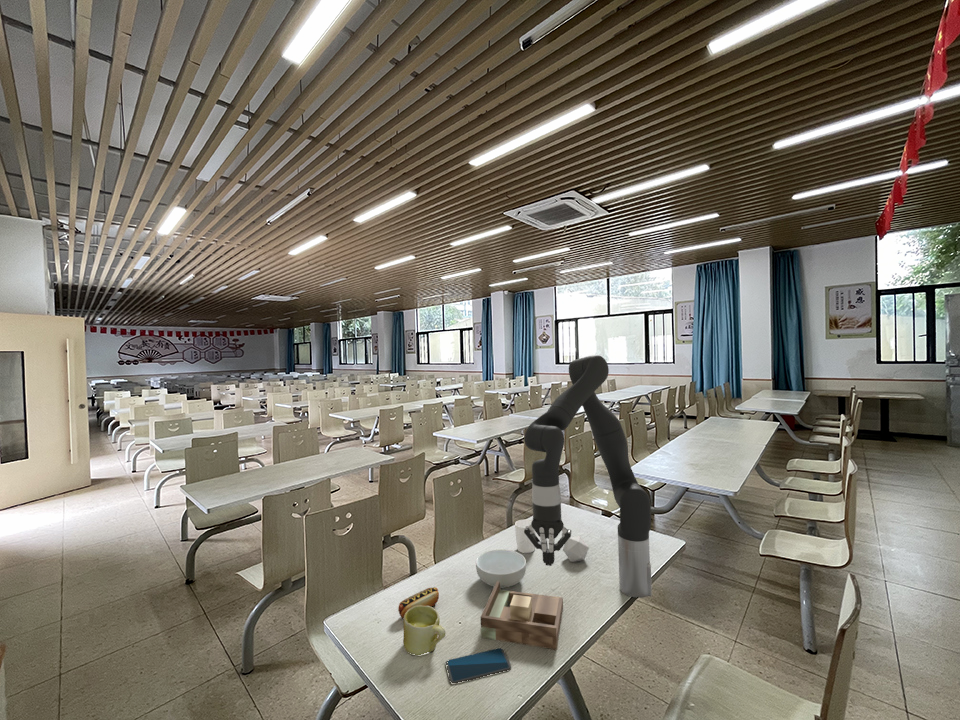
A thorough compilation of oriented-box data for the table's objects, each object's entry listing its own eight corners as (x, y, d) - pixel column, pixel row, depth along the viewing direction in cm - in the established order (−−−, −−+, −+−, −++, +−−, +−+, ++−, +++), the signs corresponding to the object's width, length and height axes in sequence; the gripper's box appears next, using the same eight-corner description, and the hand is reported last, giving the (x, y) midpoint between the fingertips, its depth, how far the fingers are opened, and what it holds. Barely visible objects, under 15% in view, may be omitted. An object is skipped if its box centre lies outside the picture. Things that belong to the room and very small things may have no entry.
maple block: (532, 614, 116) (531, 596, 116) (529, 626, 111) (528, 607, 111) (514, 612, 118) (513, 594, 118) (510, 623, 113) (509, 605, 113)
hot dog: (443, 605, 127) (442, 589, 127) (405, 626, 118) (404, 608, 118) (433, 598, 131) (432, 583, 131) (396, 618, 122) (395, 601, 122)
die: (586, 568, 146) (595, 541, 150) (564, 557, 146) (573, 530, 150) (577, 566, 154) (586, 540, 158) (556, 555, 154) (565, 530, 158)
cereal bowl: (520, 599, 129) (519, 577, 128) (469, 591, 134) (468, 570, 134) (531, 571, 145) (530, 551, 145) (485, 565, 150) (485, 546, 150)
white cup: (520, 555, 156) (519, 529, 156) (512, 546, 164) (512, 521, 164) (539, 552, 158) (538, 525, 158) (531, 543, 166) (530, 518, 166)
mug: (388, 640, 110) (401, 602, 110) (419, 633, 117) (431, 598, 117) (413, 674, 101) (427, 633, 101) (445, 665, 108) (457, 627, 108)
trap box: (563, 607, 124) (562, 589, 124) (556, 649, 107) (556, 628, 106) (497, 598, 129) (496, 581, 129) (481, 637, 112) (480, 617, 112)
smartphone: (512, 671, 100) (512, 667, 100) (450, 687, 96) (450, 683, 96) (502, 650, 108) (502, 646, 108) (444, 663, 104) (444, 660, 104)
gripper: (572, 496, 114) (575, 560, 114) (524, 493, 117) (526, 555, 118) (570, 506, 106) (573, 574, 107) (519, 503, 110) (521, 568, 110)
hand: (548, 564), depth 112 cm, fingers closed
